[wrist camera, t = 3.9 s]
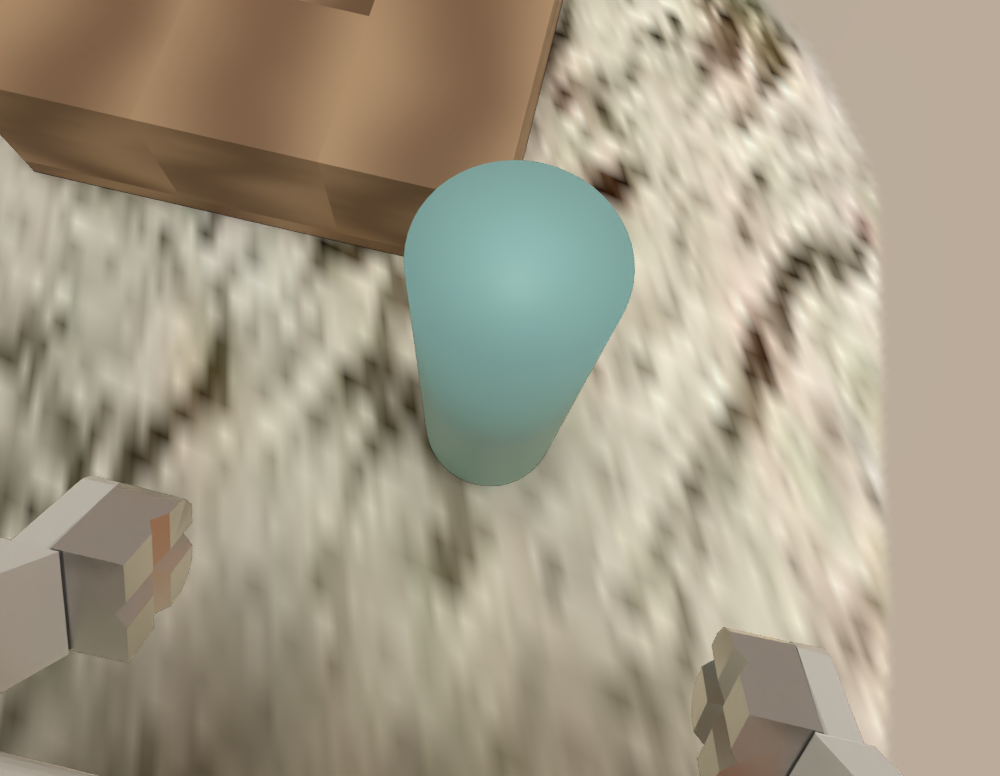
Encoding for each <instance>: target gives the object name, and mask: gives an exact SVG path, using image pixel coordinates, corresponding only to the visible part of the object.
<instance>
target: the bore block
mask: <svg viewBox="0 0 1000 776" xmlns="http://www.w3.org/2000/svg"><path fill="white" fill-rule="evenodd" d="M562 2H563V0H0V135H1V136H2V137H3V138H4V139H5V140H6V141H7V142H8V143H9V145H10V146H11V147H12V148H13V149H14V150H15V151H16V152H17V153H18V154H19V155H20V156H21V157H22V158H23V160H24V161H25V162H26V163H27V164H28V165H29V166H30V167H31V168H32V169H33V170H34V171H36V172H40V173H45V174H49V175H53V176H58V177H62V178H66V179H71V180H75V181H79V182H84V183H88V184H93V185H97V186H101V187H106V188H110V189H114V190H119V191H123V192H127V193H132V194H136V195H140V196H145V197H149V198H153V199H158V200H162V201H166V202H171V203H175V204H179V205H184V206H188V207H193V208H197V209H201V210H206V211H210V212H214V213H219V214H223V215H227V216H232V217H236V218H240V219H245V220H249V221H253V222H258V223H262V224H266V225H271V226H275V227H279V228H284V229H288V230H292V231H297V232H301V233H306V234H310V235H314V236H319V237H323V238H327V239H332V240H336V241H340V242H345V243H349V244H353V245H358V246H362V247H366V248H371V249H375V250H379V251H384V252H388V253H392V254H397V255H401V256H404V250H405V243H406V239H407V234H408V231H409V229H410V226H411V223H412V221H413V219H414V217H415V215H416V214H417V212H418V210H419V208H420V207H421V206H422V204H423V203H424V202H425V200H426V199H427V198H428V197H429V196H430V195H431V194H432V193H433V192H434V191H435V190H436V189H437V188H438V187H439V186H441V185H442V184H443V183H444V182H446V181H447V180H449V179H450V178H452V177H454V176H455V175H457V174H459V173H461V172H463V171H465V170H468V169H470V168H472V167H475V166H479V165H482V164H486V163H491V162H497V161H507V160H522V161H523V158H524V154H525V150H526V146H527V142H528V138H529V134H530V130H531V126H532V122H533V118H534V114H535V110H536V106H537V102H538V98H539V94H540V90H541V86H542V82H543V78H544V74H545V70H546V66H547V62H548V58H549V54H550V50H551V46H552V42H553V38H554V34H555V30H556V26H557V22H558V18H559V14H560V10H561V6H562Z"/></svg>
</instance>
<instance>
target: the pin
mask: <svg viewBox="0 0 1000 776" xmlns="http://www.w3.org/2000/svg"><path fill="white" fill-rule="evenodd" d="M404 270H405V279H406V287H407V294H408V301H409V308H410V315H411V323H412V330H413V337H414V344H415V351H416V359H417V366H418V373H419V380H420V387H421V395H422V402H423V409H424V416H425V423H426V431H427V436H428V440H429V443H430V446H431V449H432V451H433V452H434V454H435V456H436V458H437V459H438V460H439V462H440V463H441V464H442V465H443V466H444V467H445V468H446V469H447V470H448V471H449V472H451V473H452V474H453V475H455V476H456V477H458V478H460V479H462V480H464V481H466V482H469V483H473V484H477V485H483V486H497V485H503V484H508V483H511V482H514V481H516V480H518V479H520V478H522V477H524V476H525V475H527V474H528V473H529V472H531V471H532V470H533V469H534V468H535V467H536V466H537V465H538V464H539V462H540V461H541V460H542V458H543V457H544V455H545V453H546V452H547V450H548V448H549V446H550V445H551V443H552V441H553V439H554V437H555V436H556V434H557V432H558V430H559V428H560V427H561V425H562V423H563V421H564V419H565V418H566V416H567V414H568V412H569V410H570V409H571V407H572V405H573V403H574V401H575V400H576V398H577V396H578V394H579V392H580V391H581V389H582V387H583V385H584V383H585V382H586V380H587V378H588V376H589V374H590V373H591V371H592V369H593V367H594V365H595V364H596V362H597V360H598V358H599V356H600V355H601V353H602V351H603V349H604V347H605V346H606V344H607V342H608V340H609V338H610V337H611V335H612V333H613V331H614V329H615V328H616V326H617V324H618V322H619V320H620V319H621V317H622V315H623V313H624V311H625V309H626V307H627V304H628V302H629V299H630V296H631V292H632V288H633V283H634V274H635V266H634V254H633V249H632V244H631V241H630V238H629V235H628V232H627V230H626V228H625V226H624V224H623V222H622V220H621V218H620V217H619V215H618V214H617V212H616V211H615V209H614V208H613V206H612V205H611V204H610V203H609V202H608V201H607V199H606V198H605V197H604V196H603V195H602V194H600V193H599V192H598V191H597V190H596V189H595V188H594V187H592V186H591V185H590V184H588V183H587V182H585V181H584V180H583V179H581V178H579V177H577V176H575V175H574V174H572V173H570V172H567V171H565V170H562V169H560V168H558V167H554V166H551V165H547V164H544V163H539V162H533V161H522V160H507V161H497V162H491V163H486V164H482V165H479V166H475V167H472V168H470V169H468V170H465V171H463V172H461V173H459V174H457V175H455V176H454V177H452V178H450V179H449V180H447V181H446V182H444V183H443V184H442V185H441V186H439V187H438V188H437V189H436V190H435V191H434V192H433V193H432V194H431V195H430V196H429V197H428V198H427V199H426V200H425V202H424V203H423V204H422V206H421V207H420V208H419V210H418V212H417V214H416V215H415V217H414V219H413V221H412V223H411V226H410V229H409V231H408V234H407V239H406V243H405V250H404Z"/></svg>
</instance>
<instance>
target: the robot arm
mask: <svg viewBox="0 0 1000 776" xmlns="http://www.w3.org/2000/svg"><path fill="white" fill-rule="evenodd" d="M191 523H192V504H191V503H190V502H189V501H187V500H186V499H183V498H179V497H175V496H171V495H167V494H163V493H160V492H156V491H152V490H148V489H144V488H141V487H137V486H133V485H129V484H125V483H124V484H122V483H119V482H115V481H111V480H108V479H104V478H100V477H96V476H90V477H86V478H83V479H81V480H80V481H79V482H78V483H76V484H75V485H74V486H73V487H72V488H71V489H70V490H68V491H67V492H66V493H65V494H64V495H63V496H62V497H60V498H59V499H58V500H57V501H56V502H55V503H53V504H52V505H51V506H50V507H49V508H48V509H47V510H45V511H44V512H43V513H42V514H41V515H40V516H38V517H37V518H36V519H35V520H34V521H33V522H32V523H30V524H29V525H28V526H27V527H26V528H25V529H24V530H22V531H21V532H20V533H19V534H18V535H17V536H15V537H14V538H13V539H12V540H9V539H4V538H0V693H2V692H4V691H5V690H7V689H9V688H11V687H12V686H14V685H16V684H18V683H19V682H21V681H23V680H25V679H26V678H28V677H30V676H32V675H33V674H35V673H37V672H38V671H40V670H42V669H44V668H45V667H47V666H49V665H51V664H52V663H54V662H56V661H58V660H59V659H61V658H63V657H65V656H66V655H68V654H69V651H74V652H78V653H83V654H88V655H93V656H97V657H102V658H107V659H112V660H116V661H121V662H126V663H129V662H130V660H131V659H132V658H133V656H134V655H135V654H136V652H137V651H138V650H139V648H140V647H141V646H142V644H143V643H144V642H145V640H146V639H147V638H148V636H149V635H150V633H151V632H152V631H153V629H154V614H155V613H157V612H159V611H161V610H163V609H165V608H168V607H170V606H171V605H172V604H173V602H174V601H175V599H176V598H177V596H178V595H179V594H180V592H181V590H182V588H183V586H184V583H185V581H186V579H187V576H188V574H189V570H190V565H191V560H192V544H191V543H190V541H189V540H188V538H187V537H186V536H185V534H184V532H185V531H186V529H187V528H188V527H189V526H190V524H191ZM712 650H713V656H714V660H713V661H711V662H709V663H707V664H706V665H704V666H702V667H701V670H700V672H699V675H698V677H697V680H696V682H695V686H694V692H693V697H692V723H693V731H694V733H695V734H696V735H697V736H698V738H699V739H700V740H701V742H702V743H703V744H704V746H703V748H702V750H701V752H700V754H699V756H698V758H697V760H698V766H699V773H700V776H903V775H902V774H901V773H900V772H899V771H898V770H897V768H896V767H895V766H894V765H893V764H892V763H891V762H890V761H889V760H888V759H887V758H886V757H885V756H884V755H883V754H882V753H881V752H880V751H879V750H878V749H877V748H876V747H875V746H871V745H867V744H864V742H863V739H862V736H861V734H860V731H859V729H858V726H857V723H856V721H855V718H854V716H853V713H852V711H851V708H850V705H849V703H848V700H847V698H846V695H845V692H844V690H843V687H842V685H841V682H840V679H839V677H838V674H837V672H836V669H835V667H834V664H833V661H832V659H831V656H830V654H829V653H828V652H827V651H826V650H825V649H822V648H818V647H813V646H808V645H804V644H799V643H794V642H787V641H783V640H778V639H774V638H770V637H765V636H761V635H757V634H752V633H748V632H743V631H739V630H735V629H730V628H726V627H723V628H722V629H721V630H720V631H719V632H718V633H717V635H716V637H715V639H714V642H713V644H712ZM0 776H100V775H95V774H91V773H87V772H83V771H79V770H75V769H71V768H67V767H63V766H58V765H54V764H50V763H46V762H42V761H38V760H34V759H30V758H26V757H21V756H17V755H13V754H9V753H5V752H1V751H0Z"/></svg>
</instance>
